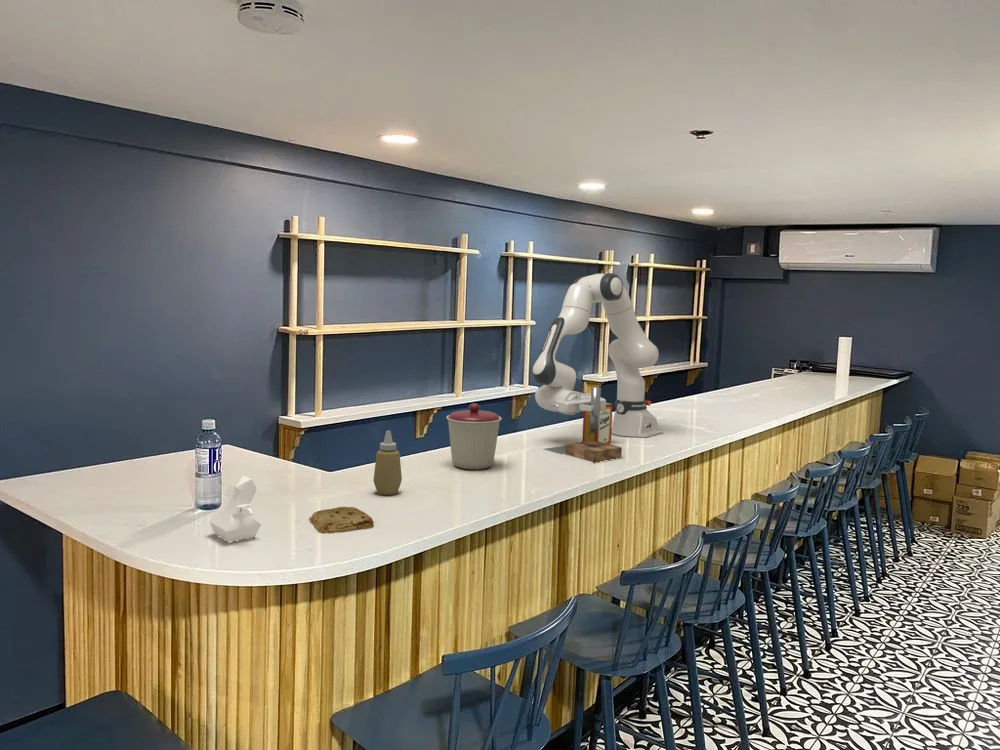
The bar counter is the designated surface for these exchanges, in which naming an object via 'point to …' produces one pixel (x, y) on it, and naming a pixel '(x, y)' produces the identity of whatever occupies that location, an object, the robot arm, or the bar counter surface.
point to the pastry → (340, 520)
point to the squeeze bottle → (387, 467)
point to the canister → (473, 437)
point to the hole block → (593, 451)
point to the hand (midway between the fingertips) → (597, 408)
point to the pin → (595, 409)
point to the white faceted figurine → (237, 513)
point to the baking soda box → (604, 426)
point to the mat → (557, 449)
